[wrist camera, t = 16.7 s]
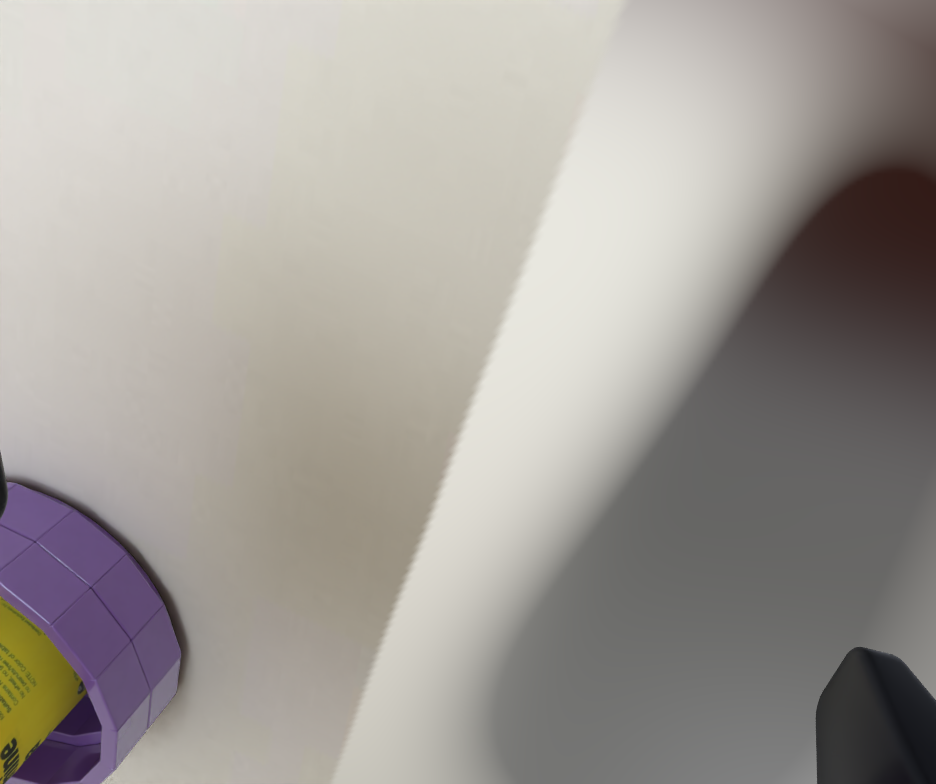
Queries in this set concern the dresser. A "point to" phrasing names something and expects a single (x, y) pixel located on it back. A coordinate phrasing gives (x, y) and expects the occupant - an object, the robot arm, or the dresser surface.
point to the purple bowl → (87, 633)
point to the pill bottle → (30, 689)
